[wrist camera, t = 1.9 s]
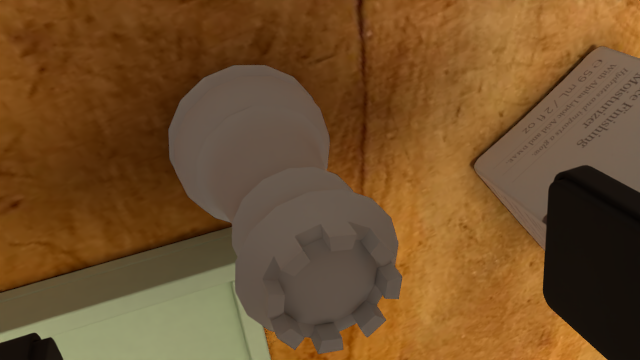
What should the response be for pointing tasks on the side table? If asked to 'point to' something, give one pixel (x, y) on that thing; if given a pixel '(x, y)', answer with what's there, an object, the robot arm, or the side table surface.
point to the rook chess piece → (284, 206)
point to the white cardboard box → (569, 137)
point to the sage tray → (143, 307)
